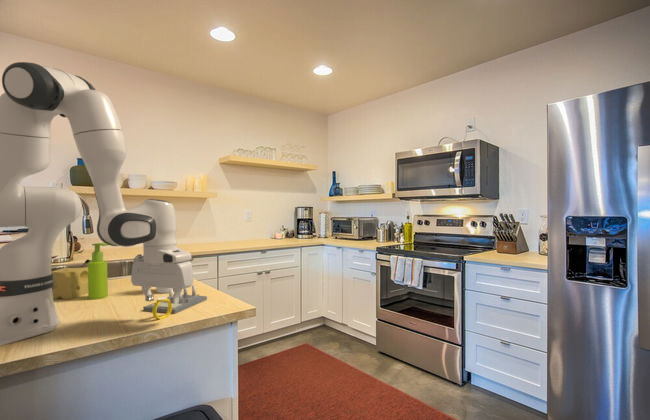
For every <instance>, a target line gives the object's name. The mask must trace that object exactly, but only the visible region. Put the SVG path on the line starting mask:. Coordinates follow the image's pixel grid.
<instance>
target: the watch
mask: <svg viewBox="0 0 650 420" xmlns="http://www.w3.org/2000/svg"><path fill="white" fill-rule="evenodd" d="M167 297H168V296H162V297H158V298H156V301H155V302H154V303H155V304H154V306H153V311H151V312H152V315H153V317H154V318H155V319H156V320H162V319H164V318H168V317H169V316H170V315H171V314H172V313H171V311H172V304H171V303H170V300H169V299H167ZM164 301H167V303H168V310H167V313H165V314H163V315H161V316H158V314H157V313H158V312H157V307H158V305H159V303H160V302H164Z"/></svg>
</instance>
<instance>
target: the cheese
mask: <svg viewBox="0 0 650 420" xmlns="http://www.w3.org/2000/svg"><path fill="white" fill-rule="evenodd" d="M51 274H53V280H54V287H53V291H52V293H53V300H57V299H62V300H73V299H76V298H78V297H80V296H83V295H86V294H88V267H84V268H80V267H64V268H59V269H56V270H51Z"/></svg>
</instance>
